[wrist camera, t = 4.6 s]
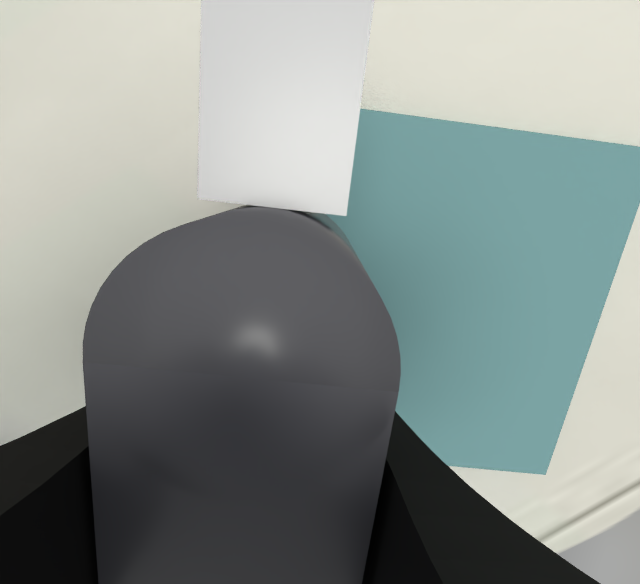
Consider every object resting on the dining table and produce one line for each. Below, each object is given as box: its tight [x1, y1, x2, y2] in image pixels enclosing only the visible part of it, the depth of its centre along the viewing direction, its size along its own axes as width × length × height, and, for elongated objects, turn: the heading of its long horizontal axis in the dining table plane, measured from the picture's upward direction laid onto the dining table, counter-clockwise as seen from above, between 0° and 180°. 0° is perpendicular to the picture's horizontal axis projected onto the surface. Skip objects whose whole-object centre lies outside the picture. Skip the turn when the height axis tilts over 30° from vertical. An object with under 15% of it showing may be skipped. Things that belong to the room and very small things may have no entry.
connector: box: [83, 0, 401, 584], centre depth 8 cm, size 13×4×5 cm, turn 174°
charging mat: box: [326, 109, 640, 475], centre depth 17 cm, size 16×13×1 cm
